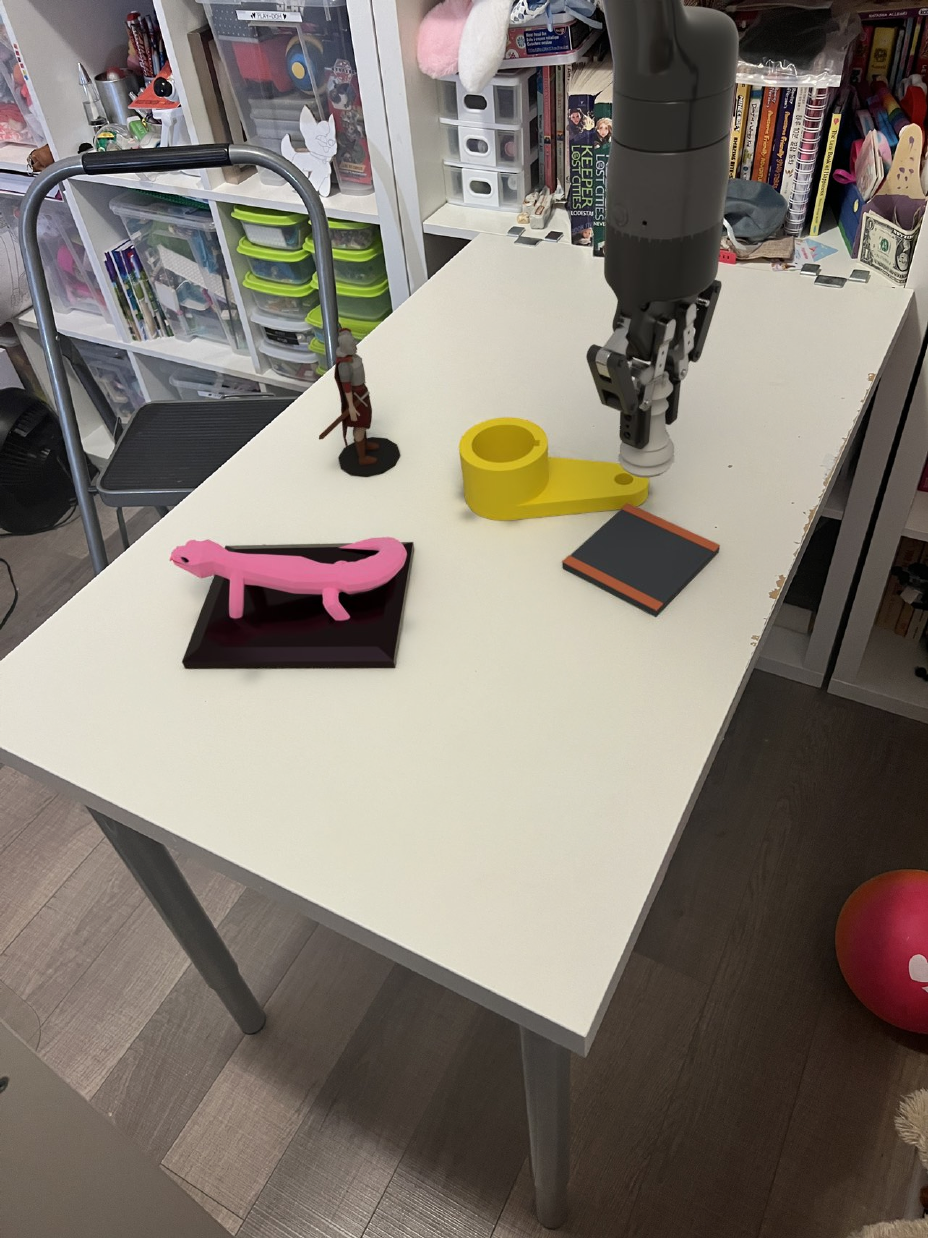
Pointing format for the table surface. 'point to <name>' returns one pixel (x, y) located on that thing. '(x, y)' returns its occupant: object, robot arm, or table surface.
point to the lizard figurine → (298, 604)
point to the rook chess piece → (652, 437)
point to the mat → (641, 558)
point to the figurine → (358, 416)
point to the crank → (537, 475)
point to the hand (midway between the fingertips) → (648, 430)
